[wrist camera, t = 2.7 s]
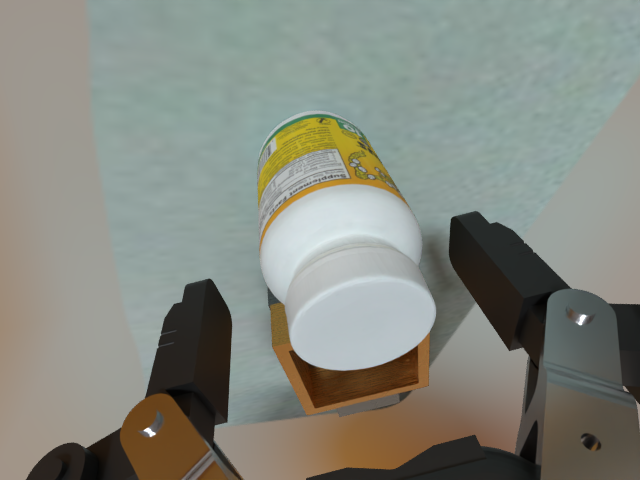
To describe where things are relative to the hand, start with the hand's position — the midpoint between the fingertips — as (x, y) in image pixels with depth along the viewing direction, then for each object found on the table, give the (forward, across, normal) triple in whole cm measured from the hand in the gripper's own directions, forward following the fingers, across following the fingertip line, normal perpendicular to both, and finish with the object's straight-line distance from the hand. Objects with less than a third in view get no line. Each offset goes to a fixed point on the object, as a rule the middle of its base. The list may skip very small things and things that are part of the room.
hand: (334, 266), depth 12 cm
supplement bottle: (+7, 0, 0) cm, 7 cm away
